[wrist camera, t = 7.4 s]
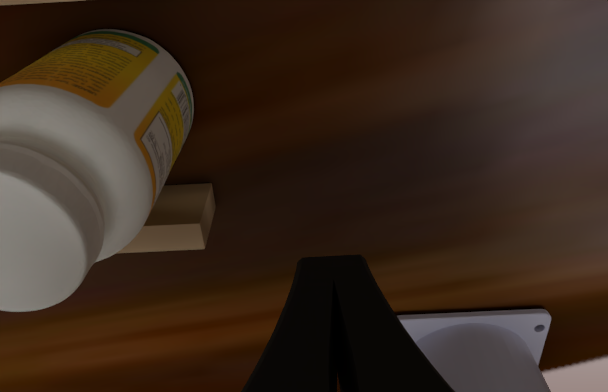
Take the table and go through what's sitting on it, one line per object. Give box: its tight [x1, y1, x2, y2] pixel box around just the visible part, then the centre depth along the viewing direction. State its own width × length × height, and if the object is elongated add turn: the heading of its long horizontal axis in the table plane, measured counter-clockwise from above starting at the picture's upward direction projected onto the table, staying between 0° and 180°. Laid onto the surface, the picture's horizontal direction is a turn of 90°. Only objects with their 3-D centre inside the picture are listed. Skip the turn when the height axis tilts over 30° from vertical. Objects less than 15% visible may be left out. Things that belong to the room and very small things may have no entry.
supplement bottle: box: [0, 29, 194, 312], centre depth 15 cm, size 5×5×10 cm
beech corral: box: [0, 0, 216, 253], centre depth 18 cm, size 10×10×3 cm
